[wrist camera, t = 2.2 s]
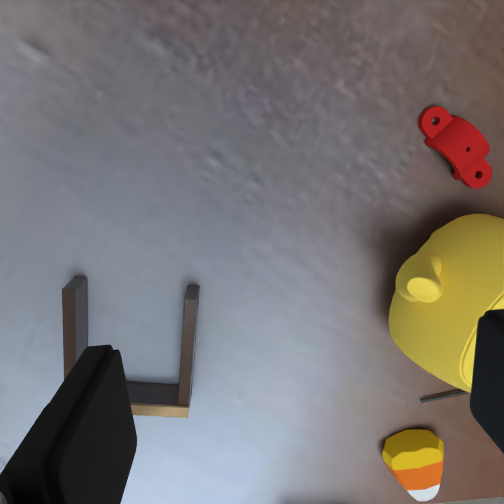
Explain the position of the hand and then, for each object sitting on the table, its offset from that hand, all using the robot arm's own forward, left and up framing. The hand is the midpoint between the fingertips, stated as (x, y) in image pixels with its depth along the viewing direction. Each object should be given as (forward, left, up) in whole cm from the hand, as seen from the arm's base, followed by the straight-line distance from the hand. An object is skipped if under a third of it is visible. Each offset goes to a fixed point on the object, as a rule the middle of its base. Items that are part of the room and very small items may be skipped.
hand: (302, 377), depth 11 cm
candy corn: (+17, -21, -23) cm, 35 cm away
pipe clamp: (+16, +6, -25) cm, 30 cm away
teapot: (+18, -5, -24) cm, 31 cm away
